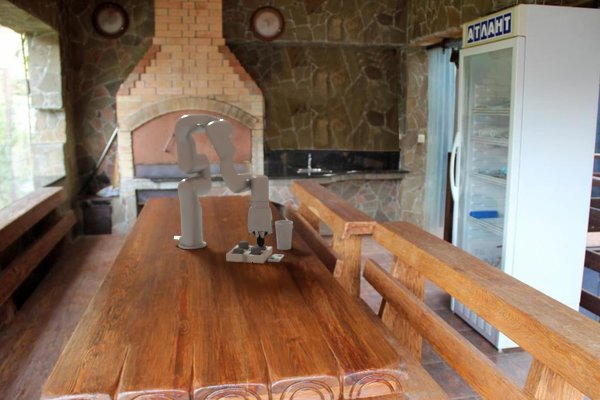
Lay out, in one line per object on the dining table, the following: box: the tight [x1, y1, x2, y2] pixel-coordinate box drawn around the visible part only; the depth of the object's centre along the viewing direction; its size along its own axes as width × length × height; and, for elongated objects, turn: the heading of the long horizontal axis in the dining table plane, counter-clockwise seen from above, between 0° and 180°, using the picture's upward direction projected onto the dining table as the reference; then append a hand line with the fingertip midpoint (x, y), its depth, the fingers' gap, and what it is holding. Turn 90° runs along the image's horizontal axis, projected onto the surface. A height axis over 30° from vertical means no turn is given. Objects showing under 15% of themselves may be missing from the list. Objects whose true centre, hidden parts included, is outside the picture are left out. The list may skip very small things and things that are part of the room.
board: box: [225, 244, 273, 264], centre depth 244 cm, size 16×15×3 cm
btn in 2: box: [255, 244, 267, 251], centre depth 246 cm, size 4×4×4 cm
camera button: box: [232, 248, 244, 254], centre depth 241 cm, size 4×4×4 cm
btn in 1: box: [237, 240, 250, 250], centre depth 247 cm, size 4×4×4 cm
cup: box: [274, 219, 294, 251], centre depth 257 cm, size 8×8×12 cm
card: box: [267, 253, 285, 263], centre depth 241 cm, size 5×9×1 cm, turn 169°
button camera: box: [251, 245, 261, 255], centre depth 239 cm, size 4×4×4 cm
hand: (260, 246), depth 246 cm, fingers closed
